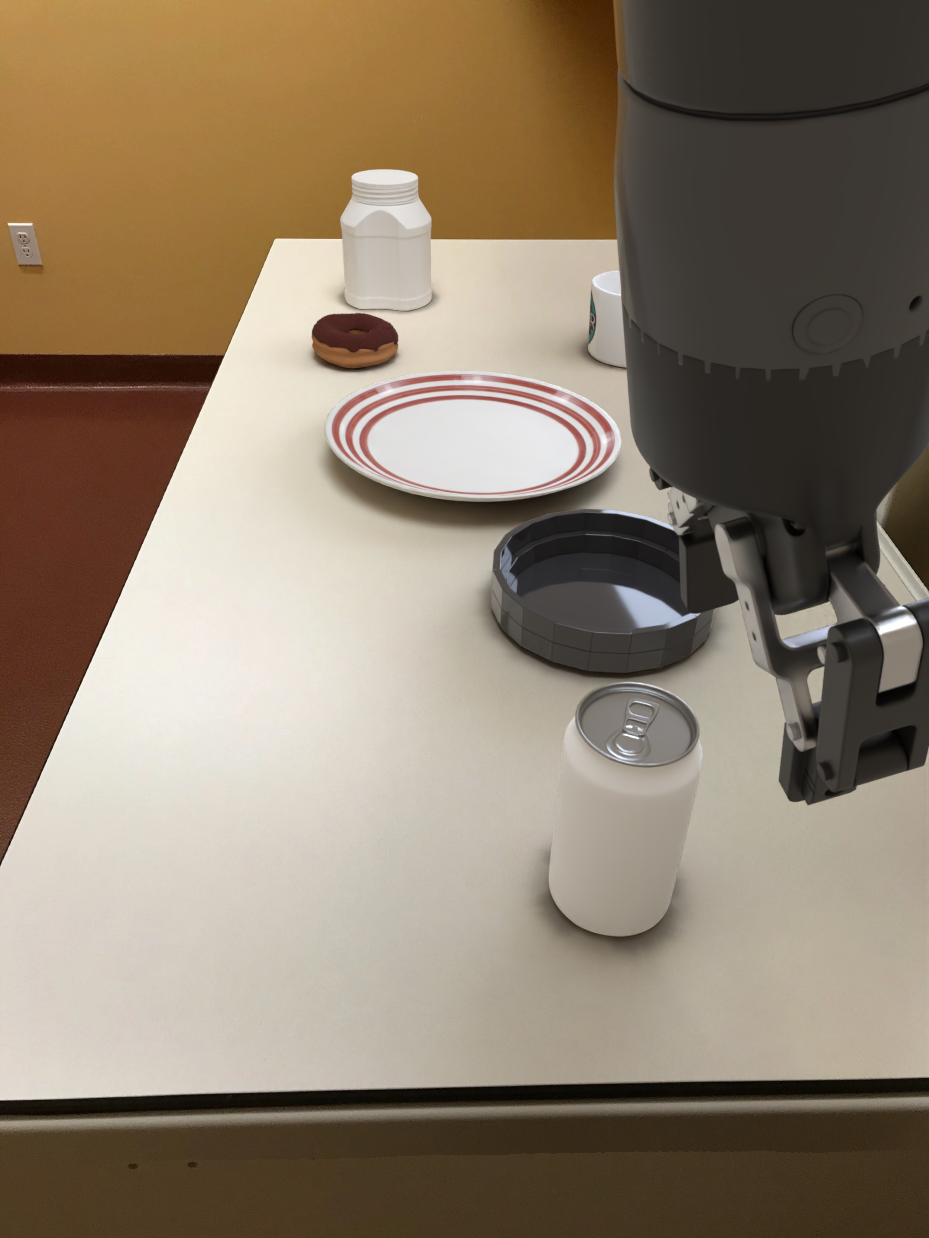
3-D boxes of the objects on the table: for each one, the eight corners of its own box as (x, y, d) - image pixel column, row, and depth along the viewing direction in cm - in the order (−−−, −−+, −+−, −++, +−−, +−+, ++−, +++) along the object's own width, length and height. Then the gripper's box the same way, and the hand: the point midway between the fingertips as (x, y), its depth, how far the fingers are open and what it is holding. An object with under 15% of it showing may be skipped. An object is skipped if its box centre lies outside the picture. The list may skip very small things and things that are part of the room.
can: (531, 917, 49) (547, 748, 42) (567, 827, 54) (587, 662, 47) (655, 959, 47) (694, 789, 40) (681, 862, 52) (720, 695, 45)
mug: (681, 371, 108) (692, 299, 104) (588, 369, 108) (595, 297, 104) (664, 329, 119) (673, 263, 114) (579, 327, 119) (585, 261, 115)
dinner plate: (530, 380, 106) (532, 350, 104) (677, 490, 86) (682, 457, 84) (289, 422, 96) (286, 391, 94) (392, 558, 76) (391, 522, 74)
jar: (339, 308, 123) (331, 183, 115) (351, 285, 131) (344, 166, 122) (428, 312, 123) (427, 187, 114) (434, 288, 131) (434, 169, 122)
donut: (406, 368, 108) (405, 334, 105) (318, 375, 106) (315, 340, 103) (390, 337, 116) (389, 304, 113) (308, 343, 114) (305, 309, 111)
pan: (615, 530, 80) (620, 490, 78) (758, 630, 69) (769, 587, 67) (450, 587, 73) (450, 544, 71) (581, 708, 62) (586, 662, 60)
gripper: (1171, 382, 17) (977, 829, 29) (804, 103, 26) (773, 525, 38) (762, 503, 17) (739, 900, 29) (543, 179, 26) (594, 578, 38)
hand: (758, 686), depth 34 cm, fingers open, 8 cm apart
